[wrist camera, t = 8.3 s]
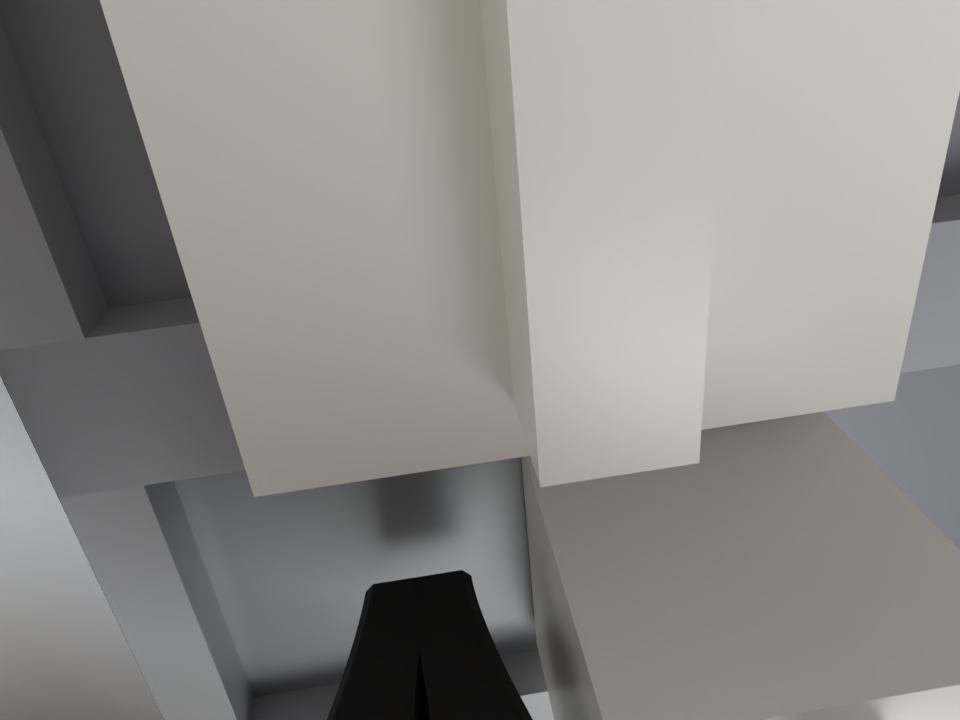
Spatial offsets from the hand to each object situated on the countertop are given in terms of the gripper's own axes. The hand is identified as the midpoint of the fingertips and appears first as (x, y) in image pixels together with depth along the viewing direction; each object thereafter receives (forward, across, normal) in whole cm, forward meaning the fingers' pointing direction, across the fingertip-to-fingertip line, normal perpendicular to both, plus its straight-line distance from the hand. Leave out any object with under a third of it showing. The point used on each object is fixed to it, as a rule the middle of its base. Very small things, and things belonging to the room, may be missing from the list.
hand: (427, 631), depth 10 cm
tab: (+1, -4, 0) cm, 4 cm away
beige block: (+1, -1, -7) cm, 7 cm away
